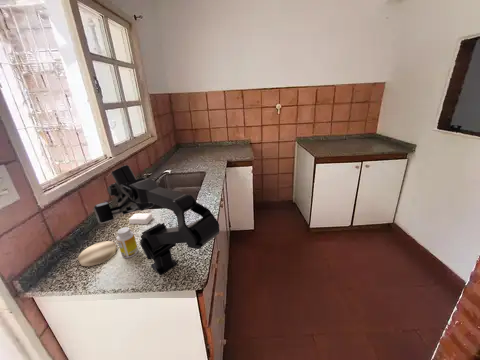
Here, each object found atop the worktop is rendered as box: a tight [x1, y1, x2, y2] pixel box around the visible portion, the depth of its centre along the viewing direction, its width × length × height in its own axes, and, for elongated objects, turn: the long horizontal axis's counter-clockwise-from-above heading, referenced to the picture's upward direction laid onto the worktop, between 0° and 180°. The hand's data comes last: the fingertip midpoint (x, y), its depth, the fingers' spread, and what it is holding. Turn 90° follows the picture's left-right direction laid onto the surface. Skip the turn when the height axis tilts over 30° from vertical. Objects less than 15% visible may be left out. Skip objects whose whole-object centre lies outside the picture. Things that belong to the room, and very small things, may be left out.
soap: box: [128, 212, 153, 225], centre depth 102 cm, size 9×6×3 cm, turn 84°
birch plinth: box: [77, 240, 118, 267], centre depth 80 cm, size 12×12×2 cm
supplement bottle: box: [116, 226, 139, 259], centre depth 78 cm, size 6×6×10 cm
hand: (119, 212), depth 82 cm, fingers open, 9 cm apart
